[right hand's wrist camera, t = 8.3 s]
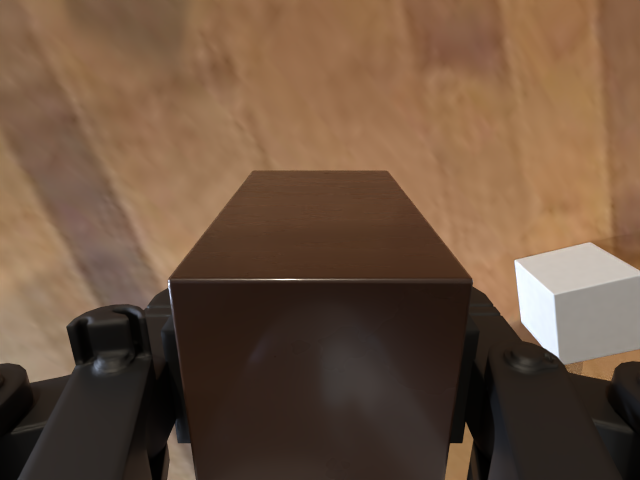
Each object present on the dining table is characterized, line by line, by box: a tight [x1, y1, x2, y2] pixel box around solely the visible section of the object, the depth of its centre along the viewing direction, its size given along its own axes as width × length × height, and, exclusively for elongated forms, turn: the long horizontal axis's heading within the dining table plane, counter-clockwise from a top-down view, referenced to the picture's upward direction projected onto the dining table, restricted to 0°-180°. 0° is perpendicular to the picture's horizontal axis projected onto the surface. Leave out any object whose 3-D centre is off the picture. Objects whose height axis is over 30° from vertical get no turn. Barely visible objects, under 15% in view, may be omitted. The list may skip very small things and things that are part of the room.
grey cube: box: [515, 242, 640, 365], centre depth 26 cm, size 5×5×5 cm
